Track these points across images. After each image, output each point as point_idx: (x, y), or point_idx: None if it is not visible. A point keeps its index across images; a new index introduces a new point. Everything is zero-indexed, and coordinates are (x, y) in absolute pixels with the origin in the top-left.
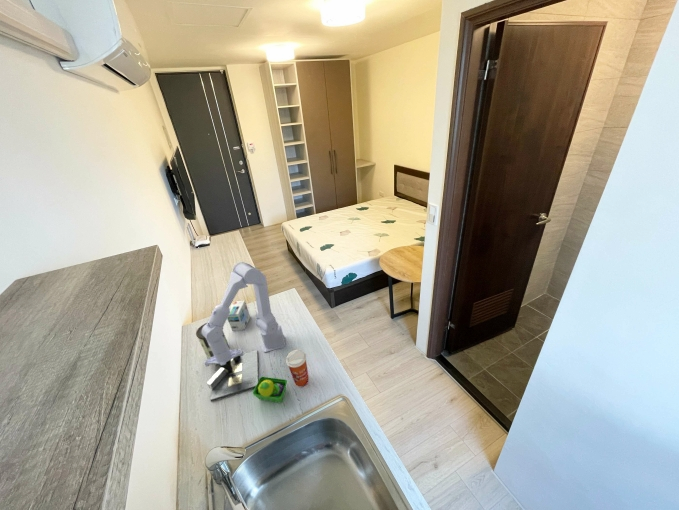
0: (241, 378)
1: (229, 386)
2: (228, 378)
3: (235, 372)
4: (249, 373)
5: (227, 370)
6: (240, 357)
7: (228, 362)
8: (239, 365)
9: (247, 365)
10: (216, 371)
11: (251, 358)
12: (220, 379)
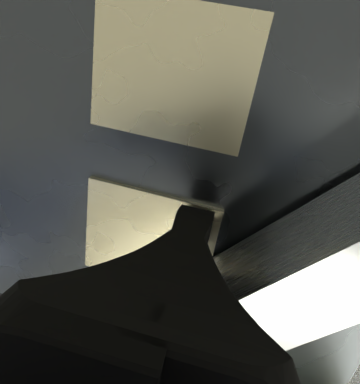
0: (95, 62)
1: (259, 8)
2: (246, 156)
3: (156, 192)
4: (9, 87)
5: (229, 261)
6: None
7: (9, 378)
8: (109, 252)
9: (36, 207)
10: (351, 328)
11: (5, 260)
12: (347, 187)
